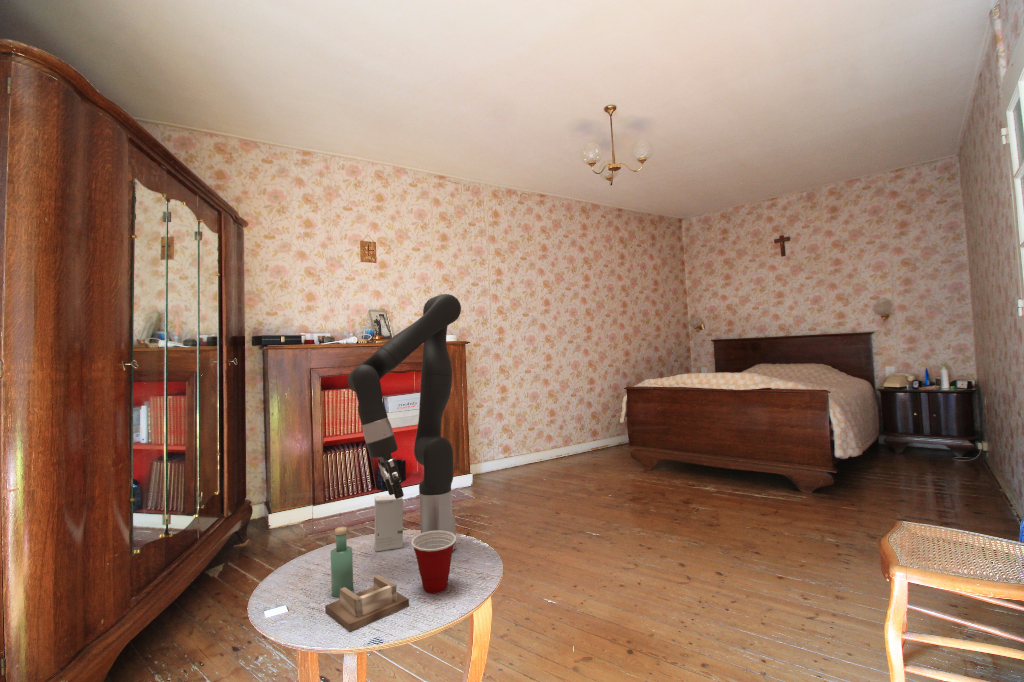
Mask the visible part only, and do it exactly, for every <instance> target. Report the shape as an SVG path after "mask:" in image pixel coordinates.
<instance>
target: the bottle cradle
mask: <svg viewBox="0 0 1024 682" xmlns="http://www.w3.org/2000/svg"><path fill="white" fill-rule="evenodd" d="M372 579H373V586H372V587H369V588H367V589H365V590H361V591H359V592H356V593H354V591H353V592H352V591H350V590H349V589H347V588H345V587H344V588H341V589H340V597H339V599H337V600H336V601H334V602H331V603H328V604H326V605H324V606H325V607H324V609H325V610H324V611H325V612H324V613H326V614H327V616H329V617H330V618H332V619H333V620H334V621H335V622H337V623H338V624H339V625H341V626H342V627H343V628H344V629H345V630H347V631H348V632H352V631H355V630H357V629H359V628H362V627H364V626H366V625H369V624H371V623H373V622H376V621H378V620H380V619H383V618H384V617H388V616H389V615H391V614H394V613H396V612H398V611H401V610H403V609H405V608H408V607H410V599H409V598H408V597H406V596H404V595H402V594H401V593H399V592H397V591H398V590H397V584H395V583H393V582H392V581H390V580H388V579H387V578H385V577H383V576H381V575H379V574H377V575H374V576H373V578H372Z"/></svg>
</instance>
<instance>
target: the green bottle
mask: <svg viewBox="0 0 1024 682" xmlns="http://www.w3.org/2000/svg"><path fill="white" fill-rule="evenodd" d="M334 530H335V533H334V534H335V548H332V549H331V550H330V580H331V583H330V584H331V586H330V587H331V596H332V597H333V598H340V589H341V588H344V587H345V588H347V589H349V590H350V591H352V592H353V593H354V591H355V589H354V564H353V563H354V562H353V560H354V559H353V547H352V546H348V545H347V544H348V543H347V532H348V531H347V526H337V527H336V528H335V529H334Z"/></svg>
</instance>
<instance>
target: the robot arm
mask: <svg viewBox="0 0 1024 682" xmlns="http://www.w3.org/2000/svg"><path fill="white" fill-rule="evenodd" d="M461 311H462V306H461V302H460V300H459V299H458V298H457V297H456V296H455V295H453V294H449V293H448V294H447V293H444V294H438V295H435V296H432V297H431V298H429V299H428V300H426V302H425V303H424V306H423V309H422V316H421V317H420V318H419V319H417V320H416V321H414V322H413V323H412V324H410V325H409V326H407V327H405V328H404V329H403V330H401V331H399V332H398V333H397V334H395V335H393V336H392V337H391V338H390V339H388V340H387V341H386V342H385V343H384V344H382V345H381V346H380V347H379V348H377V350H376V351H375V352H374V353H373V354H372V355H371V356H369V358H367V359H366V360H364V361H363V362H362V363H360V364H359V365H358V366H357V367H355V368H354V369H353V370H351V371H350V373H349V375H348V377H347V384H348V385H347V386H348V387H349V389H350V390H351V391H353V392H355V394H356V398H357V401H358V405H357V411H358V416H359V420H360V424H361V426H362V427H361V428H362V434H363V437H364V440H365V446H366V448H367V451H368V453H369V457H370V459H373V460H374V459H376V461H377V463H378V467H379V471H380V475H381V478H382V479H383V481H384V482H385V485H386V488H387V492H388V495H394V496H395V498H396V499H398V498H401V497H402V498H403V497H404V496H405V494H404V490H403V487H402V484H401V481H402V476H401V473H400V470H399V467H398V463H397V459H396V457H392V453H395V452H396V451H398V449H399V447H398V444H397V439H396V437H395V433H394V430H393V427H392V424H391V422H390V419H389V416H388V414H387V409H386V406H385V404H384V399H383V391H382V385H381V380H382V378H384V376H385V375H387V374H388V373H389V372H391V371H393V370H395V369H396V368H397V367H398V366H399V365H401V363H403V361H405V360H406V359H407V358H408V357H409V356H410V355H411V354H412V353H413V352H415V351H416V350H417V349H418V348H419V347H420V346H421V345H423V347H422V348H423V349H422V359H421V360H422V362H421V363H422V364H421V372H420V386H419V387H420V389H419V392H420V393H419V394H420V395H419V406H418V407H419V408H418V409H419V410H418V423H417V428H416V434H415V440H414V446H413V454H414V457H415V460H416V461H417V463H419V465H422V466H423V480H421V481H420V482H419V484H418V490H419V491H418V493H419V496H418V497H419V521H420V522H419V523H420V525H419V526H420V534H421V533H424V532H429V531H438V530H441V531H448V532H451V533H453V534H454V535H455V536H456V537H457V533H456V530H457V529H456V516H455V515H453V504H452V503H453V501H452V483H453V480H454V450H453V446H452V444H451V442H450V440H448V439H447V438H445V437H443V436H442V433H441V432H442V420H443V414H444V411H445V410H446V407H447V404H448V402H449V400H450V396H451V392H452V385H453V384H452V383H453V382H452V381H453V366H452V365H453V364H452V361H451V357H450V354H449V352H448V346H447V334H448V333H447V332H448V327H449V326H450V325H451V324H453V323H454V322H456V321H457V320H458V319H459V317H460V315H461V313H462V312H461ZM454 549H455V550H457V541H456V542H455V543H454V546H453V551H454Z"/></svg>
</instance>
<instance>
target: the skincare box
mask: <svg viewBox="0 0 1024 682" xmlns="http://www.w3.org/2000/svg"><path fill="white" fill-rule="evenodd" d="M403 503H404V502H403V497H401V498H398V499H396V498H395V496H394V494H393V495H389V494H388V495H378V496H374V549H375V552H376V553H377V552H383V551H389V550H394V549H395V550H396V549H402V548H403V547H404V541H403V540H404V539H403V537H404V533H403V532H404V531H403V529H404V528H403V527H404V526H403V525H404V520H403V519H404V515H403V514H404V507H403Z"/></svg>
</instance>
